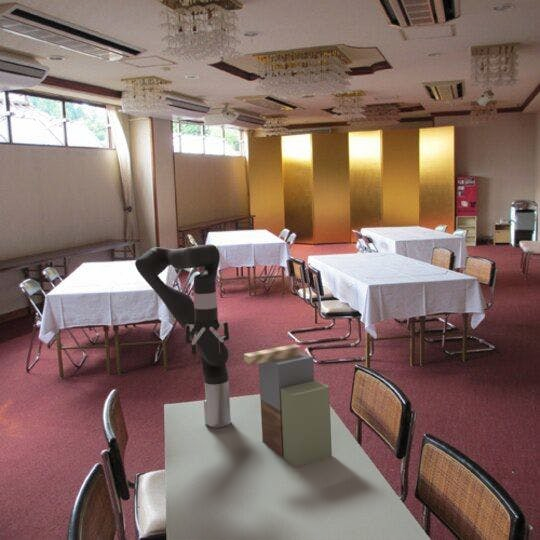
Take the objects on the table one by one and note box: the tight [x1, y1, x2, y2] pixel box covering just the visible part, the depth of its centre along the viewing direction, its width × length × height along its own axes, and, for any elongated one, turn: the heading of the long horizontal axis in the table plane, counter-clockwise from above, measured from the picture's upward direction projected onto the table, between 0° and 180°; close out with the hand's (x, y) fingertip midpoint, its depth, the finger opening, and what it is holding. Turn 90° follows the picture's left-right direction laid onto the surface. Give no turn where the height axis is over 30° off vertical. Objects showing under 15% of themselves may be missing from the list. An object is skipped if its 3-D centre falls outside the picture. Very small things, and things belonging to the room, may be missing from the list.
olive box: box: [281, 379, 333, 467], centre depth 190 cm, size 14×8×24 cm, turn 119°
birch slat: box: [243, 343, 302, 366], centre depth 195 cm, size 20×4×3 cm, turn 119°
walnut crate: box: [260, 399, 284, 457], centre depth 201 cm, size 14×14×16 cm
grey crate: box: [258, 351, 315, 411], centre depth 199 cm, size 14×14×16 cm
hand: (207, 353), depth 189 cm, fingers open, 8 cm apart
